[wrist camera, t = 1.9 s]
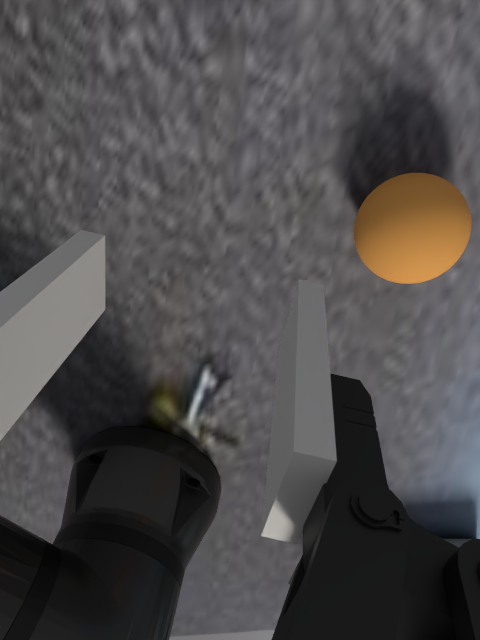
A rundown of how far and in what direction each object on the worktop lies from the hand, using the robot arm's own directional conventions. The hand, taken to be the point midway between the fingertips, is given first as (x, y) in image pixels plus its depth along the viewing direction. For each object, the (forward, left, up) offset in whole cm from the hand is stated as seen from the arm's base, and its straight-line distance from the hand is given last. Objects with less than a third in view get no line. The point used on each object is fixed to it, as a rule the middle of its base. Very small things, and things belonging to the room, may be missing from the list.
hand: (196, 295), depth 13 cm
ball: (+9, 0, -12) cm, 15 cm away
